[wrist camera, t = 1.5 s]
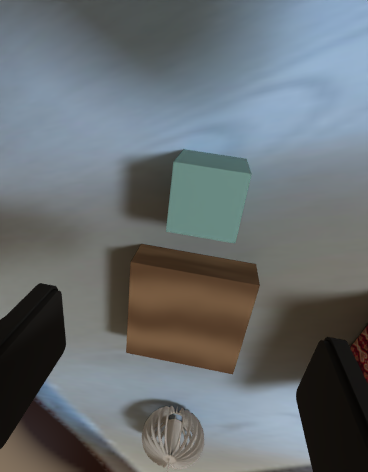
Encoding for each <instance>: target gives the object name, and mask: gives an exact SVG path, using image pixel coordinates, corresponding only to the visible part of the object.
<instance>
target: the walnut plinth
mask: <svg viewBox="0 0 368 472" xmlns="http://www.w3.org/2000/svg"><path fill="white" fill-rule="evenodd" d="M259 286H260V284H259V278H258V273H257V267H256V264H252V263H246V262H241V261H235V260H229V259H224V258H218V257H212V256H207V255H201V254H195V253H190V252H184V251H179V250H173V249H167V248H162V247H156V246H150V245H145V244H141V245H140V247H139V249H138V250H137V252H136V254H135V256H134V257H133V259H132V261H131V266H130V286H129V307H128V327H127V347H126V353H130V354H135V355H140V356H145V357H150V358H155V359H160V360H165V361H170V362H175V363H180V364H185V365H190V366H195V367H200V368H205V369H209V370H214V371H219V372H224V373H229V374H233V372H234V369H235V366H236V362H237V359H238V356H239V352H240V349H241V346H242V343H243V339H244V336H245V333H246V329H247V326H248V323H249V319H250V316H251V313H252V310H253V306H254V303H255V300H256V296H257V293H258V290H259Z"/></svg>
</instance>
